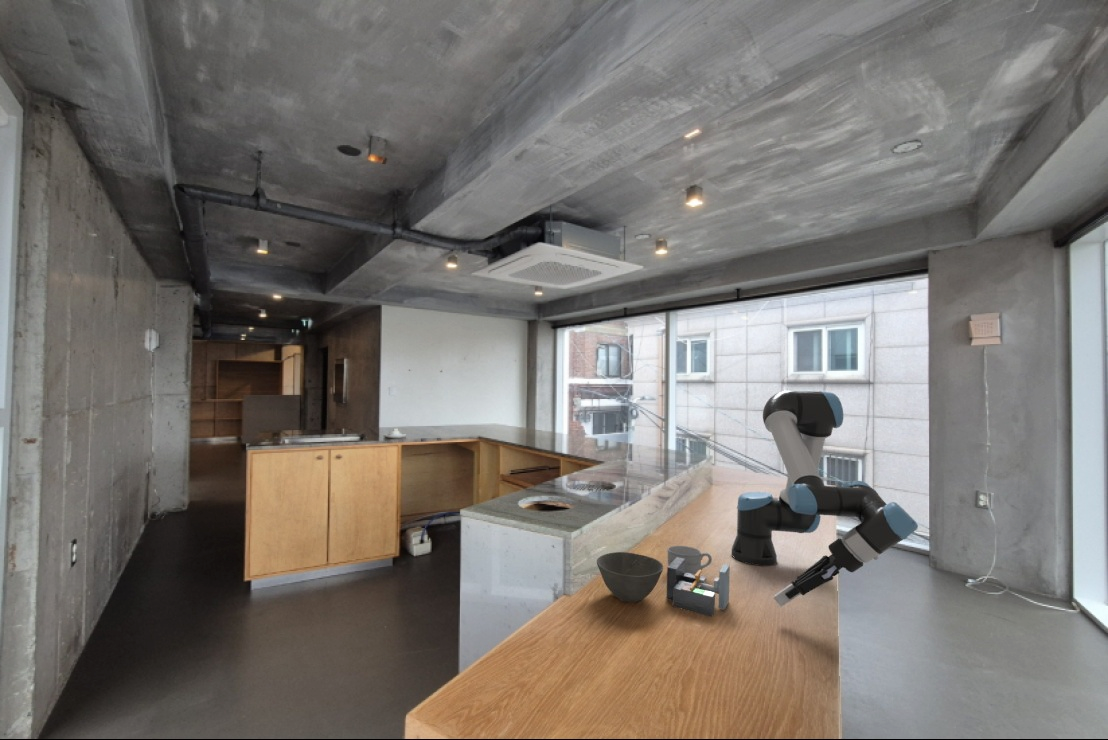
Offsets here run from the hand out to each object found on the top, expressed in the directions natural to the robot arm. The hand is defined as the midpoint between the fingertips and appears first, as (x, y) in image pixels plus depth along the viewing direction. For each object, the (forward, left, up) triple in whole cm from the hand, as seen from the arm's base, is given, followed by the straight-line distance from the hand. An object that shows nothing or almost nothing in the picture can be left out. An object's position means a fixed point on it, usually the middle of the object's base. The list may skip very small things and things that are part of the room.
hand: (777, 601), depth 124 cm
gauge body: (+2, -22, -5) cm, 22 cm away
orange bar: (+3, -21, 0) cm, 21 cm away
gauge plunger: (0, -17, -4) cm, 17 cm away
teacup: (-17, -28, -5) cm, 33 cm away
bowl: (+10, -38, -5) cm, 39 cm away
